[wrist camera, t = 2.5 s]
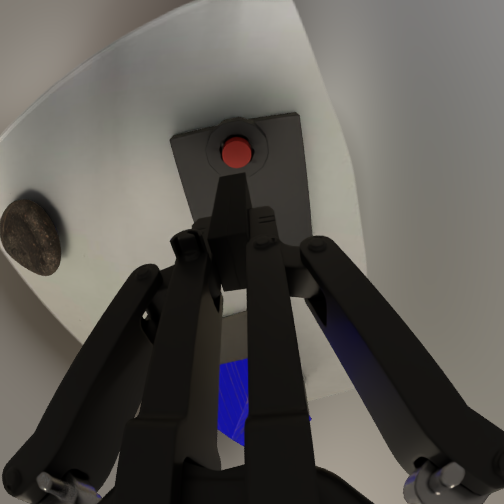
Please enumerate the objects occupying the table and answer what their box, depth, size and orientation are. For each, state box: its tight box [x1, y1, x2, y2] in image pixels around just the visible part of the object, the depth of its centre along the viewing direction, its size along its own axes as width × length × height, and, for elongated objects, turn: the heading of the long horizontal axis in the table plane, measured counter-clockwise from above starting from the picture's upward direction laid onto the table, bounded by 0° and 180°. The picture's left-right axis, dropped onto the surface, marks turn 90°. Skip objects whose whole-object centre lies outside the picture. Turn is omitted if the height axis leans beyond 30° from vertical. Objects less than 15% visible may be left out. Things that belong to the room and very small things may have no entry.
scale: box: [170, 112, 312, 246], centre depth 29 cm, size 17×12×4 cm
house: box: [217, 311, 312, 446], centre depth 42 cm, size 25×16×16 cm, turn 22°
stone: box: [0, 199, 61, 276], centre depth 29 cm, size 11×11×5 cm
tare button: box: [222, 137, 251, 168], centre depth 24 cm, size 2×2×2 cm
